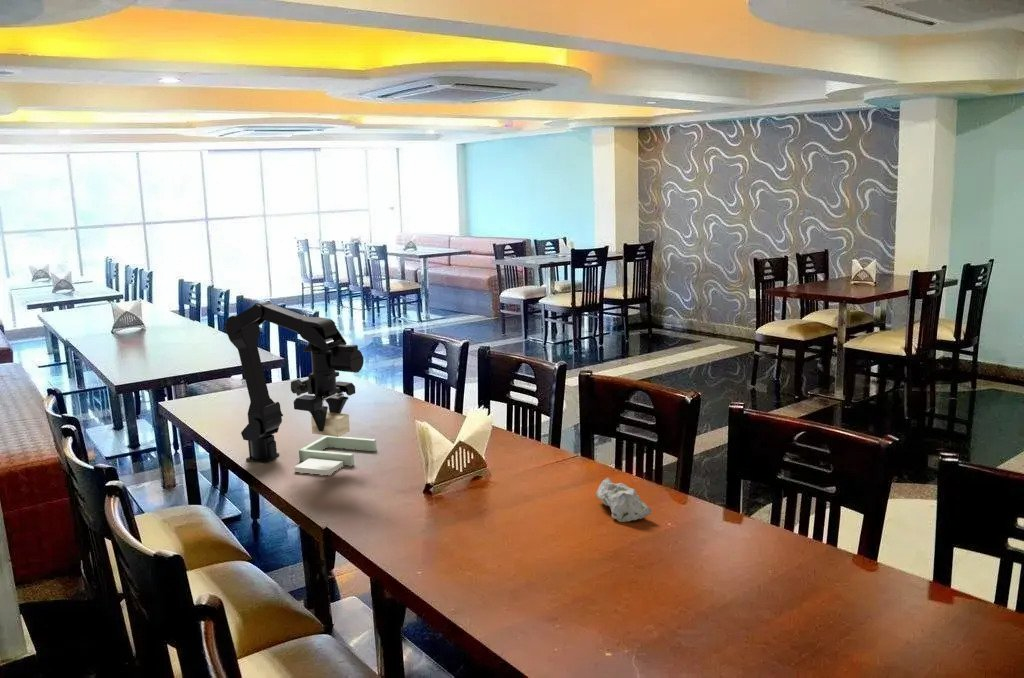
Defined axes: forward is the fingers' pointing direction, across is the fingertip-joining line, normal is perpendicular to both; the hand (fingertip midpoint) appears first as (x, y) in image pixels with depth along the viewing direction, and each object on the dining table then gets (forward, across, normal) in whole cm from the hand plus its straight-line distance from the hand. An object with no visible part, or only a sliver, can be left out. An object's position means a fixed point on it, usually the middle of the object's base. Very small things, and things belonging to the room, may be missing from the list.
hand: (327, 428), depth 210 cm
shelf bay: (+11, -8, -3) cm, 14 cm away
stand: (+11, +2, -1) cm, 11 cm away
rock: (+9, +3, +79) cm, 79 cm away
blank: (+1, 0, +1) cm, 1 cm away
